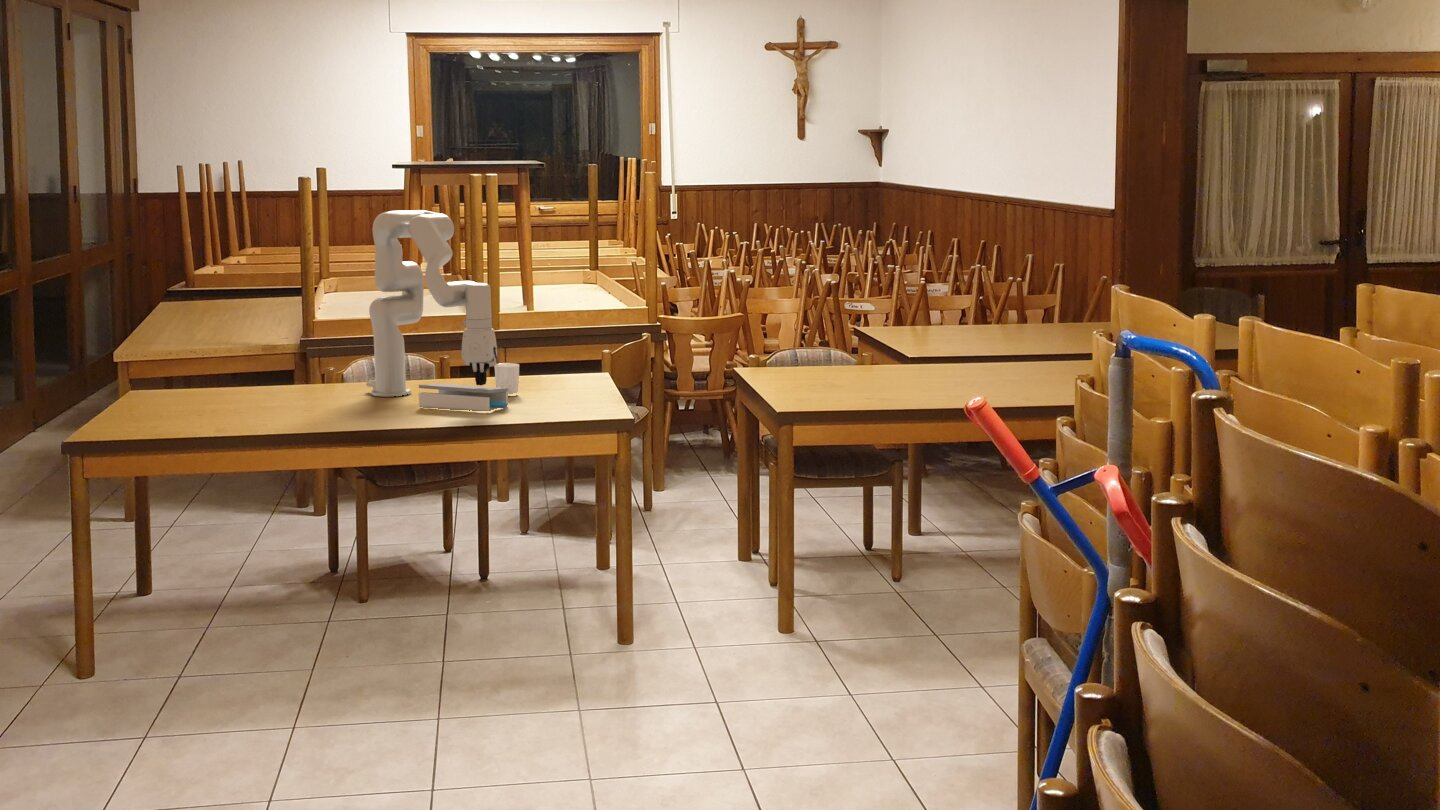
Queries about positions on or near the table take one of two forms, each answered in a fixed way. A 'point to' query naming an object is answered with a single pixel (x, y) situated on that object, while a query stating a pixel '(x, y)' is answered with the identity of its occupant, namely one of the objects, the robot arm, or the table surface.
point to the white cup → (507, 376)
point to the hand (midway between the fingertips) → (481, 384)
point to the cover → (463, 388)
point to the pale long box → (461, 400)
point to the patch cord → (498, 404)
